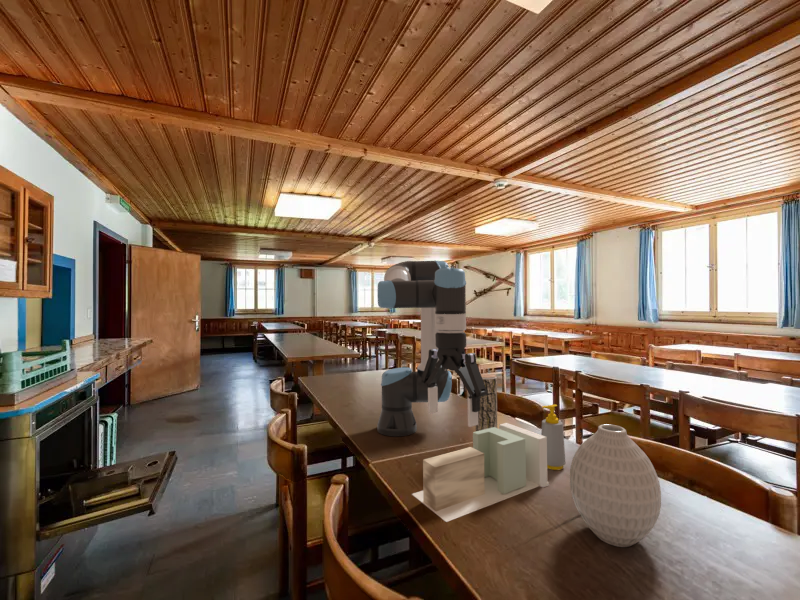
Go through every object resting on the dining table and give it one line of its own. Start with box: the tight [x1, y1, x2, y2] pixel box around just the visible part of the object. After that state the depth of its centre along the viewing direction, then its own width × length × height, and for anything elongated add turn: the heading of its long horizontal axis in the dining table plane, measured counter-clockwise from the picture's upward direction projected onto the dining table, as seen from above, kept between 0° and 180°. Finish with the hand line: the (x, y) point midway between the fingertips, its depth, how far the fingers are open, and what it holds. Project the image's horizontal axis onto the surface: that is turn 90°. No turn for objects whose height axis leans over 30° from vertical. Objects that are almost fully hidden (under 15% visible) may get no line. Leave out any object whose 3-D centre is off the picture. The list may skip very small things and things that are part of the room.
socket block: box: [472, 427, 526, 494], centre depth 98 cm, size 11×8×12 cm
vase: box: [569, 423, 662, 548], centre depth 76 cm, size 16×16×22 cm
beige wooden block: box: [422, 446, 485, 511], centre depth 90 cm, size 5×15×10 cm, turn 121°
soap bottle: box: [540, 403, 566, 471], centre depth 109 cm, size 7×7×18 cm
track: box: [411, 422, 550, 523], centre depth 95 cm, size 14×34×13 cm, turn 121°
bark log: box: [475, 373, 498, 432], centre depth 119 cm, size 7×7×25 cm
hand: (451, 418), depth 90 cm, fingers open, 13 cm apart
